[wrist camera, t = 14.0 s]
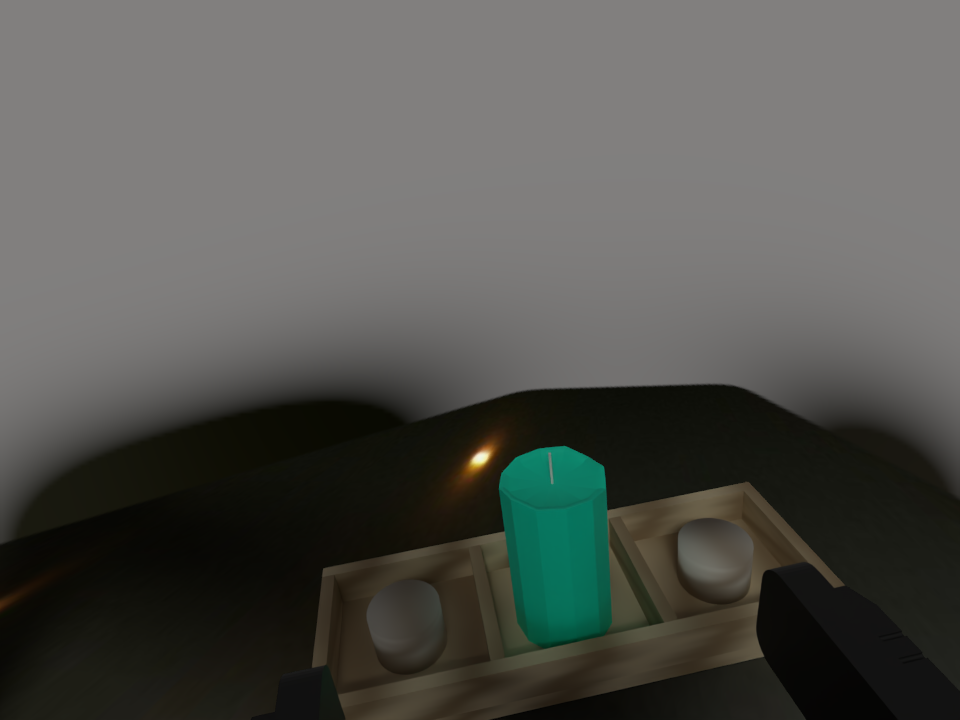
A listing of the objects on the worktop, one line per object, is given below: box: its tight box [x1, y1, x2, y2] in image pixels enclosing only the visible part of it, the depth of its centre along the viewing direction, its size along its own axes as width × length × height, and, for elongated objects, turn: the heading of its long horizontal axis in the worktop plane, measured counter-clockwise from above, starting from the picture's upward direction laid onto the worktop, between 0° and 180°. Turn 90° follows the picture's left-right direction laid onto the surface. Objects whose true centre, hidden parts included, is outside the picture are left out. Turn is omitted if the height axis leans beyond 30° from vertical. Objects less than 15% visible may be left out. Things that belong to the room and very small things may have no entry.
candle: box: [499, 446, 612, 649], centre depth 36 cm, size 6×6×12 cm
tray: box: [312, 482, 845, 720], centre depth 38 cm, size 30×11×4 cm, turn 99°
